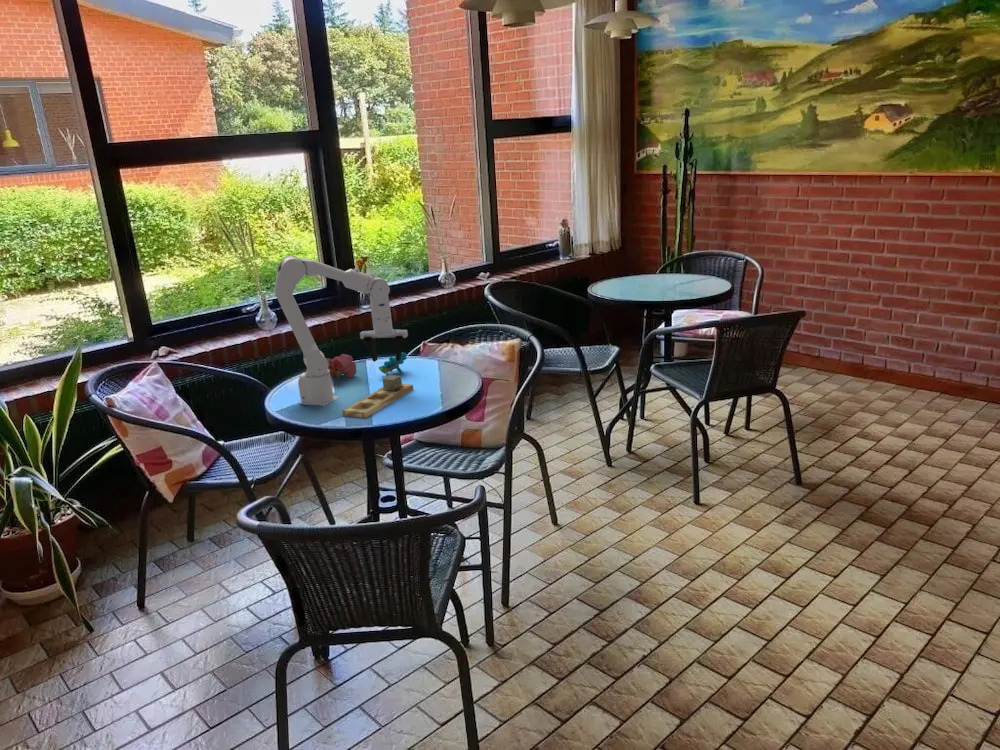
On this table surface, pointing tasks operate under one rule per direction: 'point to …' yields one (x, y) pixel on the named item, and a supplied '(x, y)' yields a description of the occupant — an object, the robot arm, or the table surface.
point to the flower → (342, 366)
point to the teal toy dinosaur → (393, 364)
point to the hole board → (375, 401)
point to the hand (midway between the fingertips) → (387, 360)
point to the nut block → (392, 383)
